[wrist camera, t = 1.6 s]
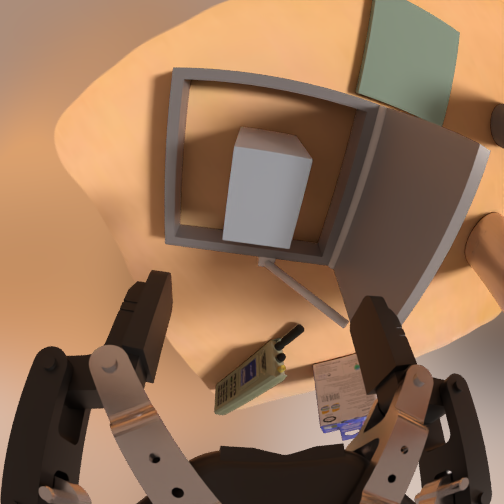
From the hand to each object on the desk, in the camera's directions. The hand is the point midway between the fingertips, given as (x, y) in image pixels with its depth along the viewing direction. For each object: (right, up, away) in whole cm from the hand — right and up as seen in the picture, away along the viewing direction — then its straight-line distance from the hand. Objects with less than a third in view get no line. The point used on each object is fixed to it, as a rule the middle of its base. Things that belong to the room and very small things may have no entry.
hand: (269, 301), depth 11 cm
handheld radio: (0, -16, +33) cm, 37 cm away
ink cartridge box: (+15, -18, +34) cm, 41 cm away
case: (0, +10, +14) cm, 17 cm away
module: (0, +10, +14) cm, 17 cm away
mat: (+14, +20, +6) cm, 26 cm away
